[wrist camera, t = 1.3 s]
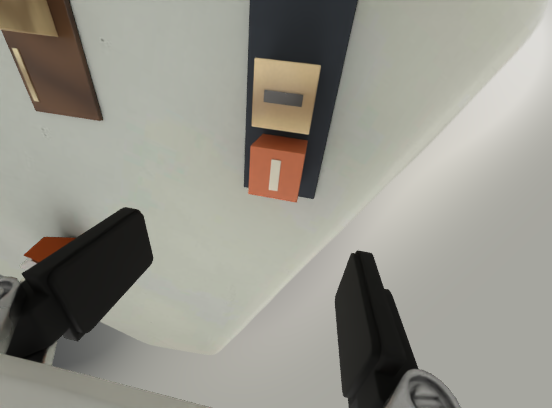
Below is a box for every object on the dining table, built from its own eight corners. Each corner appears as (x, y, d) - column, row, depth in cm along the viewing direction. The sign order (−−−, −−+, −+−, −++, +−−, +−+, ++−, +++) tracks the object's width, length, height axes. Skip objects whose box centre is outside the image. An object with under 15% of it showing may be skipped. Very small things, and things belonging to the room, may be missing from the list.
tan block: (267, 61, 19) (253, 56, 15) (320, 67, 18) (321, 64, 14) (263, 117, 21) (250, 126, 17) (310, 124, 20) (308, 135, 17)
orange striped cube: (262, 133, 22) (250, 145, 18) (307, 140, 21) (305, 154, 17) (259, 175, 24) (247, 194, 20) (300, 182, 24) (296, 203, 20)
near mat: (252, -33, 16) (250, -36, 16) (362, -25, 15) (363, -28, 15) (244, 185, 25) (243, 187, 25) (313, 197, 25) (313, 199, 24)
